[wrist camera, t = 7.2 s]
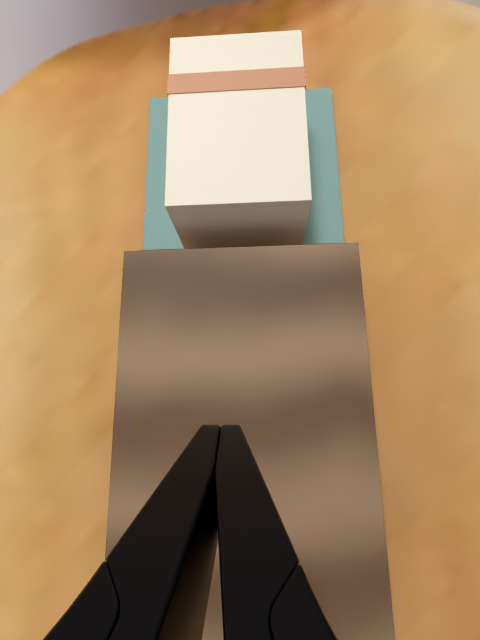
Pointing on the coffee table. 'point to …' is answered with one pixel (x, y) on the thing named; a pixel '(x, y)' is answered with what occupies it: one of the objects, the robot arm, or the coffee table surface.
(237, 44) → the card box
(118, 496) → the plate
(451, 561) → the coffee table surface
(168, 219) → the mat
